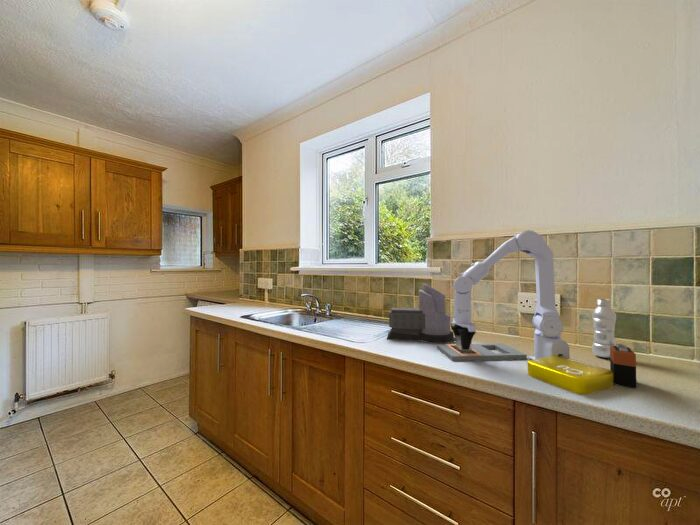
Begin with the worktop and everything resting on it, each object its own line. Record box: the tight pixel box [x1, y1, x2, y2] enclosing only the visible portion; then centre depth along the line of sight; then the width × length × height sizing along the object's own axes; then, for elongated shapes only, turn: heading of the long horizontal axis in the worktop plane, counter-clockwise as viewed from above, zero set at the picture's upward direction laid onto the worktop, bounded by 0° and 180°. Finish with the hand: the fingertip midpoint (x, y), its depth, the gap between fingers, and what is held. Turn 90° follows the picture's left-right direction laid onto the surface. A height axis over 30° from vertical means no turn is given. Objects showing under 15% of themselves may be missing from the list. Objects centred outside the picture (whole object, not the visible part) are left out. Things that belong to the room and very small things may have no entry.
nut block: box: [455, 335, 473, 354], centre depth 101 cm, size 4×4×6 cm
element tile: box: [527, 356, 615, 396], centre depth 78 cm, size 15×15×5 cm
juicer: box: [386, 283, 456, 344], centre depth 125 cm, size 30×16×24 cm, turn 79°
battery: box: [609, 343, 637, 389], centre depth 76 cm, size 4×7×10 cm, turn 143°
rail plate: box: [436, 343, 528, 362], centre depth 102 cm, size 14×26×2 cm, turn 93°
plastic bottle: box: [591, 298, 617, 359], centre depth 97 cm, size 6×7×20 cm
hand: (462, 347), depth 101 cm, fingers closed on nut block, 4 cm apart
